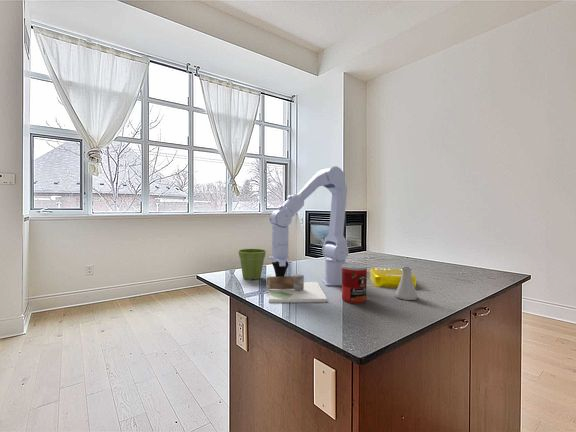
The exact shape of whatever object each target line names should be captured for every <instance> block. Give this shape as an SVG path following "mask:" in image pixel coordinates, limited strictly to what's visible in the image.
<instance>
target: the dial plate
mask: <svg viewBox="0 0 576 432" xmlns="http://www.w3.org/2000/svg"><path fill="white" fill-rule="evenodd" d="M268 303H270V304H271V303H277V304H278V303H328V298H327V296H326V295H325V293H324V290H322V288H321V286H320V284H319V283H318V281H304V289H302V290H295V289H268Z"/></svg>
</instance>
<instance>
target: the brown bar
mask: <svg viewBox="0 0 576 432" xmlns="http://www.w3.org/2000/svg"><path fill="white" fill-rule="evenodd" d="M304 277H305V276H304V275H303V274H298V273H297V274H293V275H292V276H290V275H289V276H276V275H275V276H270V275H269V276H268V275H267V276H266V283H265V284H266V286H265V287H266V289H265V290H269V289H295V290H302V289H304V282H305V278H304Z"/></svg>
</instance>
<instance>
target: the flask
mask: <svg viewBox="0 0 576 432" xmlns="http://www.w3.org/2000/svg"><path fill="white" fill-rule="evenodd" d="M401 269H403V272H402V278H401V281H400V283H399V286H398V288H396V291H395V294H394V296H395V298H397V299H401V300H406V301H417V299H418V298H419V297H418V296H419V295H418V293H417V291H416V288H415V287H414V284H413V281H412V276H411V273H412V270H413V267H411V266H403V265H402V266H401Z"/></svg>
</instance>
